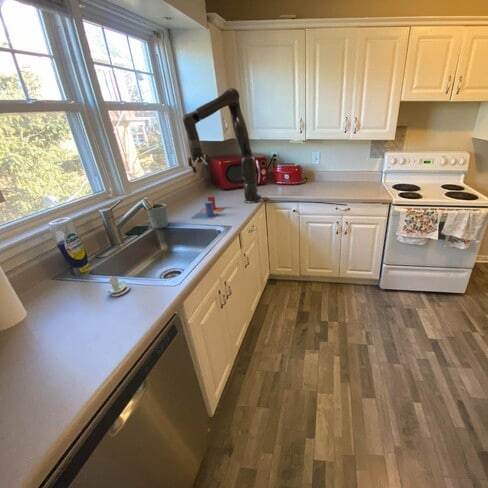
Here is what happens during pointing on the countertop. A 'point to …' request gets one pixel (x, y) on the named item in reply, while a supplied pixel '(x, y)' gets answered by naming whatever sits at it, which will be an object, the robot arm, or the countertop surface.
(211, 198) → the red upright cylinder
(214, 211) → the terracotta mat
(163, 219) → the grey-green cylindrical pot
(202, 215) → the blue mat
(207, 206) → the blue upright cylinder
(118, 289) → the pacifier
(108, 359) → the countertop surface
